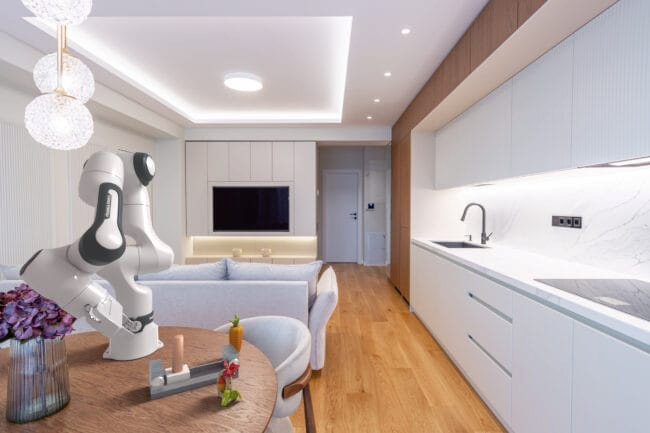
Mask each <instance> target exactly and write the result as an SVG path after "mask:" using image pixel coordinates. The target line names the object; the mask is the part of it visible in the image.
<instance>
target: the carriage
mask: <svg viewBox="0 0 650 433" xmlns="http://www.w3.org/2000/svg"><path fill="white" fill-rule="evenodd" d="M171 339H172V340H171V342H172V344H171V367H168V368H164V374H165V381H166V385H169V384H173V383H177V382H181V381H185V380H189V379H190V371H189V368H190V367H188V364H184V335H183V334H175V335H173V336H172V337H171Z"/></svg>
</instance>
